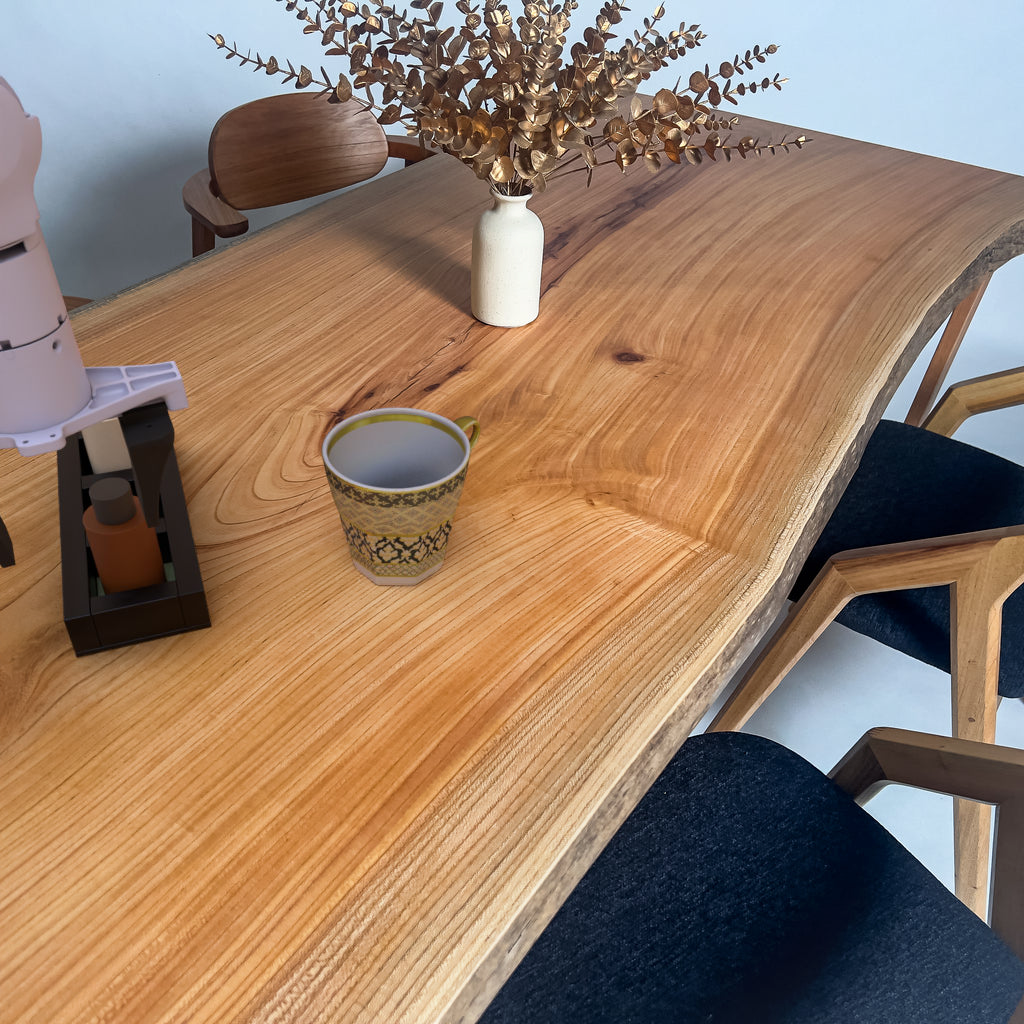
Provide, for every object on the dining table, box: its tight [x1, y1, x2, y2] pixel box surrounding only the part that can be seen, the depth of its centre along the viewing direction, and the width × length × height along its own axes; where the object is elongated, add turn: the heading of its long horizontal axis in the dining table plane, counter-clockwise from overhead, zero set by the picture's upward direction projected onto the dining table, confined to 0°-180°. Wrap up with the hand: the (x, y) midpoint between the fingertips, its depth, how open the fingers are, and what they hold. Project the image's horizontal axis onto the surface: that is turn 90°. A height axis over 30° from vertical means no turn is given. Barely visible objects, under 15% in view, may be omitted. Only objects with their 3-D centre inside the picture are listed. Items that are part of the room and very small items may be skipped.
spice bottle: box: [83, 478, 168, 595], centre depth 59 cm, size 4×4×9 cm
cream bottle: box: [81, 417, 132, 475], centre depth 69 cm, size 4×4×9 cm
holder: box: [56, 431, 213, 658], centre depth 66 cm, size 8×22×3 cm, turn 22°
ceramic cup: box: [321, 406, 481, 587], centre depth 65 cm, size 13×10×10 cm
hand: (81, 535), depth 52 cm, fingers open, 7 cm apart
